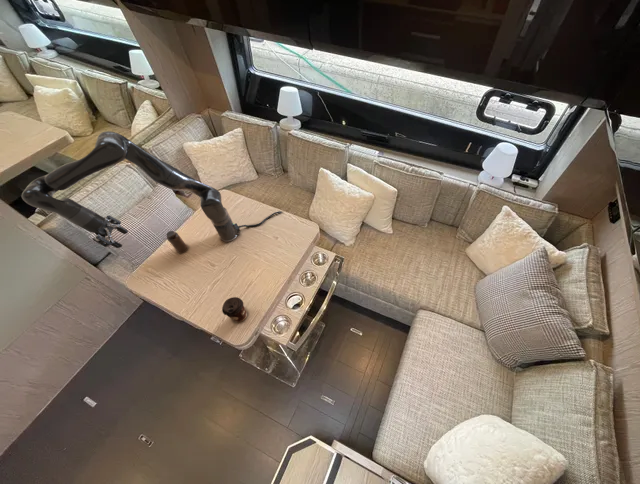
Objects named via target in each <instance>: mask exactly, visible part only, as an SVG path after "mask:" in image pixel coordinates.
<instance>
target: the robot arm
mask: <svg viewBox="0 0 640 484" xmlns="http://www.w3.org/2000/svg"><path fill="white" fill-rule="evenodd" d="M125 160H126V161H128V162H131V163H132V164H133V165H135V166H137V167H138V168H139V169H140V170H141V171H142V172H144V174H146V175H147V177H149V179H151V180H152V181H154V182H155V183H157V184H159V185H161V186H162V187H165V188H167V189H169V190H172V191H185V192H190V193H192V194H194V195H196V196H197V197H199V198H200V202H199V203H200V208H201V210H202V212H203V213H204V215H205V216H206V217H207V219H209V220H210V222H211V224H212V226H213V227H214V229H215V231H216V233H217V235H218V236H219V238H220V240H221V241H222V242H226V243H230V242H233V241H234V240H236V239H237V238H238V237H239V236H240V234H239V232H241V229H240V228H245V227H246V228H253V227H257V226H261V225H262V224H264V223H265V221H267V220H268V219H269V218H271V217H273V216H274V215H276V214H282V211H275V212H273V213H271V214H269V215H268V216H267V217H266V218H264V219H262V221H260V223H256V224H242V225H238V223H234V222H233V220H232V218H231V216H230V214H229V211H228V210H227V208H226V207H225V206H224V205H223V201H222V194H221V192H220V190H218V189H216V188H215V187H213V186H211V185H208V184H206V183H204V182H201V181H199V180H197V179H196V178H194V177H193V176H190V175H188V174H187V173H185V172H183V171H181V170H180V169H178V168H176V167H175V166H173V165H171V164H170V163H167V162H166V161H164V160H162V159H160V158H158V157H157V156H155V155H153V154H151V153H149V152H148V151H146V150H145V149H143V148H142V147H140V146H139V145H137V143H135V142H133V141H132V140H130V139H129V138H128V137H126V136H124V135H123V134H120V133H118V132H116V131H109V130H107V131H102V132H100V133H99V134H98V135H97V138H96V141H95V145H94V148H92V150H91V151H90V152H89V153H88V154H86V155H85V156H83V157H82V158H80V159H77V160H74V161H70V162H67V163H65V164H63V165H60V166H58V167H56V168H55V169H54V170H52V171H50V172H49V173H47V174H45V175H42V176H40V177H37V178H36V179H34V180H32V181H31V182H30V183H29V184H28V185H27V186H26V187H25V189H24V190H23V191H22V193H21V199H22V201H24V202H25V203H26V204H27V205H29V206H31V207H33V208H36V209H40V210H43V211H46V212H50V213H54V214H57V215H58V216H60V217H62V218H64V219H65V220H67V221H68V222H70V223H72V224H73V225H76V226H77V227H79V228H81V229H83V230H84V231H87V232H89V233H92V234H93V233H94V234H95V237H93V238H92V241H94V242H96V243H97V244H99V245H101V246H103V247H104V248H107V247H109V246H112V247H114V248H116V249H120V248H122V247H123V244H122V243H120V242H118V241H116V240H114V238H113V234H112V233H113V231H114V230H116V231H117V232H119V233H121V234H123V235H127V234H128V233H129V231H128V229H127V228H125V227H124V226H122V221H121V220H119V219H117V218H115V217H114V216H112V215H108V214H107V215H106V216H102V215H101V214H98V213H97V212H95V211H94V210H92V209H90V208H89V207H86V206H84V205H82V204H80V203H78V202H77V201H75V200H73V199H71V198H69V197H63V198H60V199H58V198H56V197H54V196H55V194H56V193H57V192H59V191H65V190H67V189H69V188H71V187H73V186H75V185H76V184H78V183H79V182H80V181H83V180H84V179H86V178H88V177H90V176H92V175H94V174H96V173H98V172H100V171H102V170H105V169H108V168H110V167H113V166H115V165H117V164H120V163H121V162H124V161H125Z"/></svg>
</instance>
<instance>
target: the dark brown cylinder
mask: <svg viewBox="0 0 640 484" xmlns="http://www.w3.org/2000/svg"><path fill="white" fill-rule="evenodd" d="M221 309H222V311H221V312H222V314H223V315H224V316H227V317H228V318H229V319H231V320H232V321H233V322H237V323H241V322H243V321H244V320H245V319H246V318H247V316H248V312H247V310H246V307H245V306H244V301H243V299H241V298H240V297H237V296H232V297H230V298H227V299H226V300H225V301H224V303H223V304H222V308H221Z"/></svg>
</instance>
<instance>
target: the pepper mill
mask: <svg viewBox="0 0 640 484" xmlns="http://www.w3.org/2000/svg"><path fill="white" fill-rule="evenodd" d="M165 235H166V240H167V241H168V242H169V243H170V244H171V246H172V247H173V249H175V251H177V253H179V254H183V253H186V251H188V245H187V244H186V242H185V241H184V240H183V239H182V238H181V236H180V234H179V233H178V232H176V231H173V230H170V231H167V233H166V234H165Z"/></svg>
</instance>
